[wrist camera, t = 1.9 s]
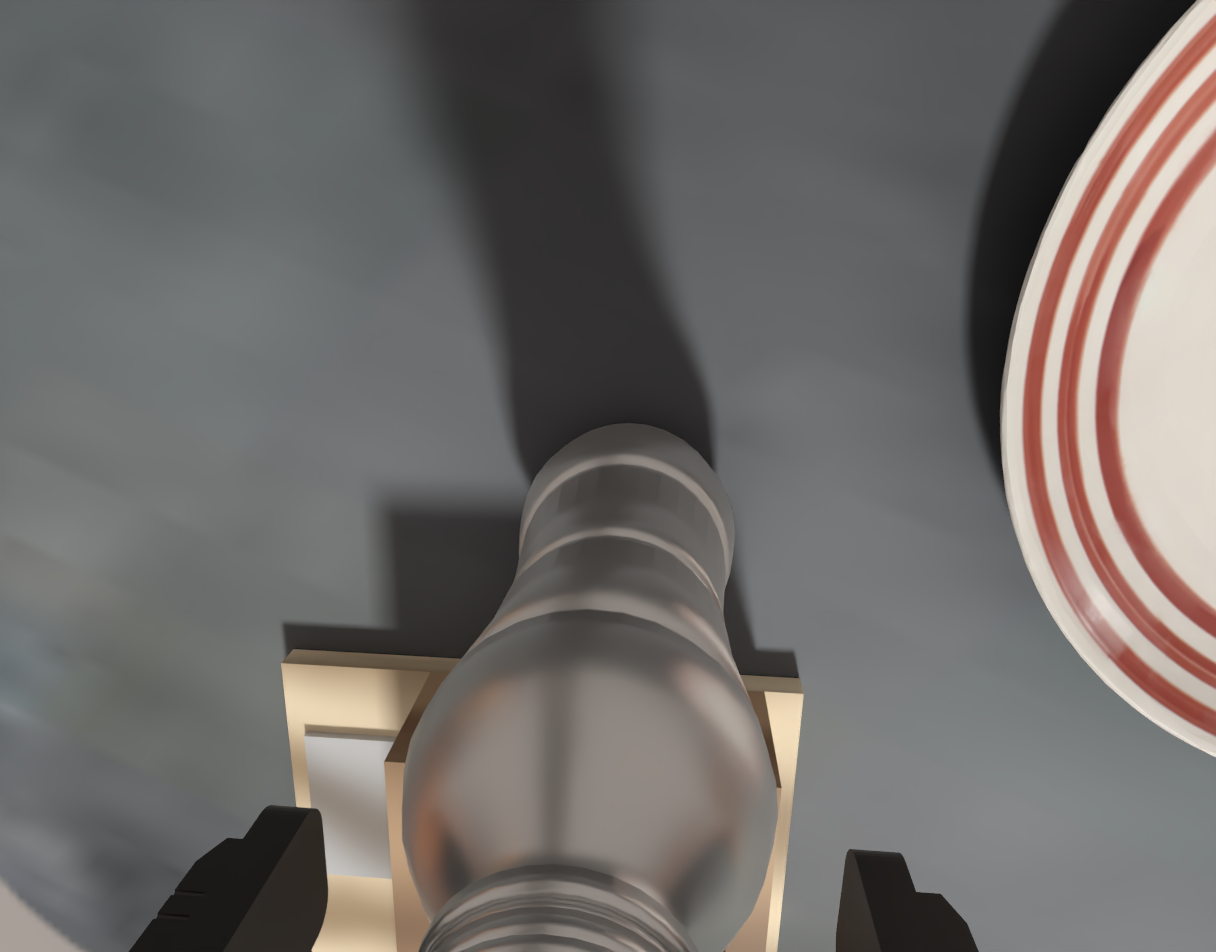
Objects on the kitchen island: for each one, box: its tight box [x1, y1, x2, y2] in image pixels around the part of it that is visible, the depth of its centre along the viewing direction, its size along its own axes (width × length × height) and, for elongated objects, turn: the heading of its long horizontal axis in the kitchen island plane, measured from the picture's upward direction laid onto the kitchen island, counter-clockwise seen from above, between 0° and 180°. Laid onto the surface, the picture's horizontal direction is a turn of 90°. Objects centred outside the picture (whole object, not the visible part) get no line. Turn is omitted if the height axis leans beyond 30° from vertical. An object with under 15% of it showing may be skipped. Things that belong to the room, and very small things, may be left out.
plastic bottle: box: [402, 423, 778, 952], centre depth 19 cm, size 6×7×20 cm
